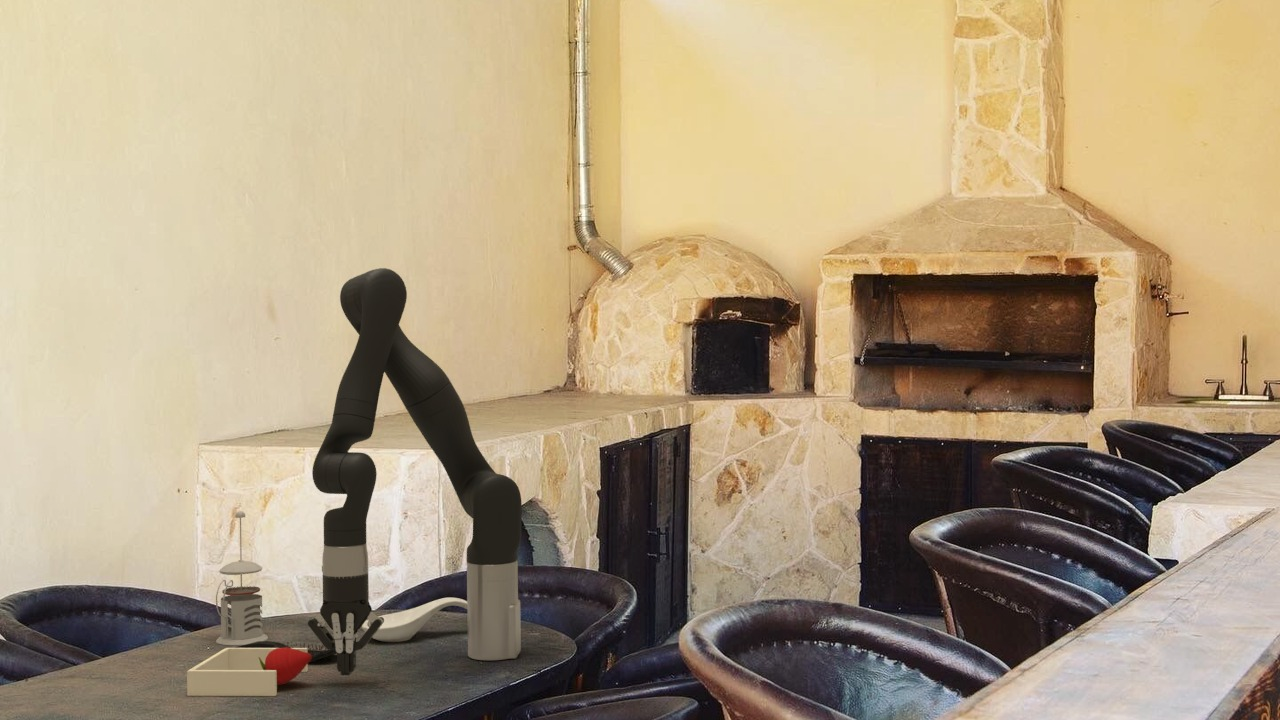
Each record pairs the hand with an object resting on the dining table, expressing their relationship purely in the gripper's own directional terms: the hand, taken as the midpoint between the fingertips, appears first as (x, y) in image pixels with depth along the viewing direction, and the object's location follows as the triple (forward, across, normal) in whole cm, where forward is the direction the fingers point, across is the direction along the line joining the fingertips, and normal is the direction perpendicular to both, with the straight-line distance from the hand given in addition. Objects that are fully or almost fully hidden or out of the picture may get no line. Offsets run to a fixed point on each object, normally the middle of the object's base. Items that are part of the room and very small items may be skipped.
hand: (346, 674), depth 219 cm
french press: (+2, +30, -33) cm, 45 cm away
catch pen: (+2, +17, 0) cm, 17 cm away
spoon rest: (+2, -5, -36) cm, 37 cm away
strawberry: (-4, +5, +1) cm, 7 cm away
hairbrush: (+2, +17, -20) cm, 27 cm away
